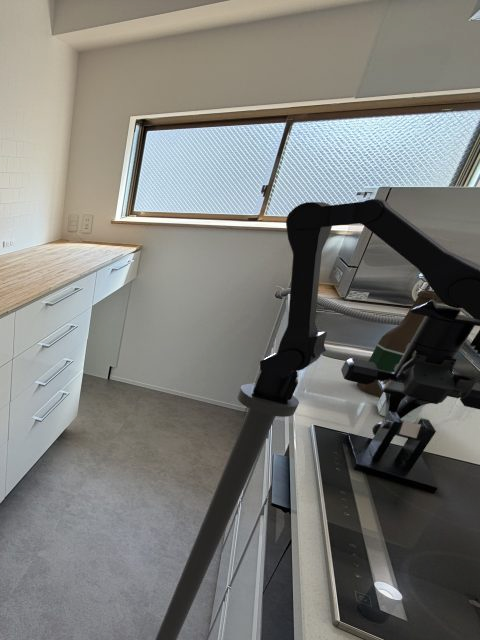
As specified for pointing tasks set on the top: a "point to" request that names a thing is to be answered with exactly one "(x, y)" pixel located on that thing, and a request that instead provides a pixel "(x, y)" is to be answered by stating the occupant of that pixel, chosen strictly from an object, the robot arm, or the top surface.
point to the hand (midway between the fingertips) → (388, 423)
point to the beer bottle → (397, 342)
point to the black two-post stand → (394, 454)
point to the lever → (403, 429)
